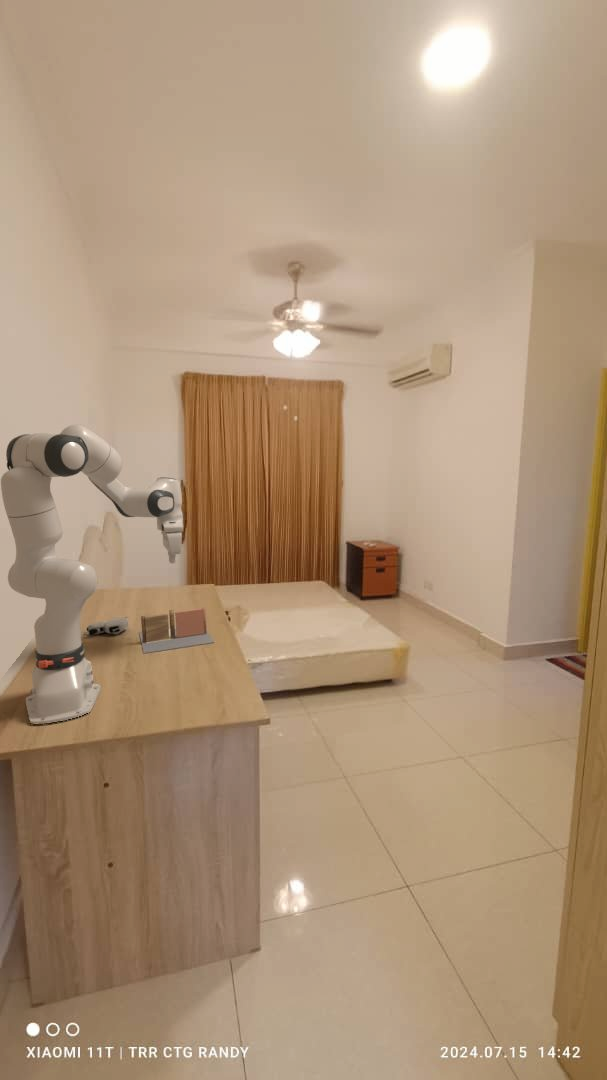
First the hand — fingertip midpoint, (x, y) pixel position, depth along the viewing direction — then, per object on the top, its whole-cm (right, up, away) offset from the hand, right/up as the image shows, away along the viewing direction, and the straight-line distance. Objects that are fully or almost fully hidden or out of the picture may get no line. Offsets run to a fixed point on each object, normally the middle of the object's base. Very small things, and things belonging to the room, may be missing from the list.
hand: (172, 562), depth 169 cm
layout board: (-1, -28, +7) cm, 29 cm away
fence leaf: (+5, -28, +9) cm, 29 cm away
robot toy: (-29, -28, +14) cm, 42 cm away
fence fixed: (-6, -29, +4) cm, 30 cm away
